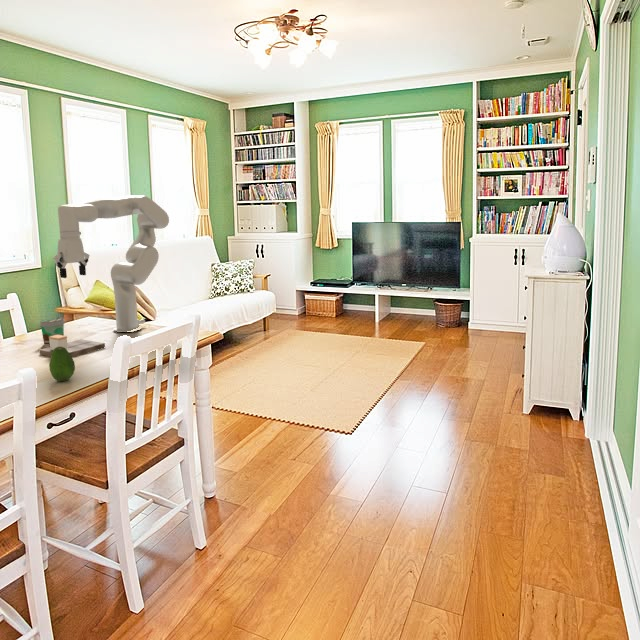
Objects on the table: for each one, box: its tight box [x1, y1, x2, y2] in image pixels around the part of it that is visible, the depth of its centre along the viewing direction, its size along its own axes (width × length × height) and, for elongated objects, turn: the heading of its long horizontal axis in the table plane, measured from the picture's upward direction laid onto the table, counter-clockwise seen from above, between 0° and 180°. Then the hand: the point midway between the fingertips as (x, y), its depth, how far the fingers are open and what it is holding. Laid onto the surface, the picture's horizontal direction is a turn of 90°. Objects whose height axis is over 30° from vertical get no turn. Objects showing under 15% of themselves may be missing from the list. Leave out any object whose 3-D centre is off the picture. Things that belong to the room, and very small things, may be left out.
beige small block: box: [49, 335, 68, 350], centre depth 228 cm, size 4×5×5 cm
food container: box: [39, 316, 66, 345], centre depth 248 cm, size 12×6×10 cm, turn 168°
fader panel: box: [38, 339, 106, 358], centre depth 235 cm, size 20×14×2 cm
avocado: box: [49, 347, 76, 382], centre depth 196 cm, size 8×8×12 cm
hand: (73, 276), depth 244 cm, fingers open, 9 cm apart
